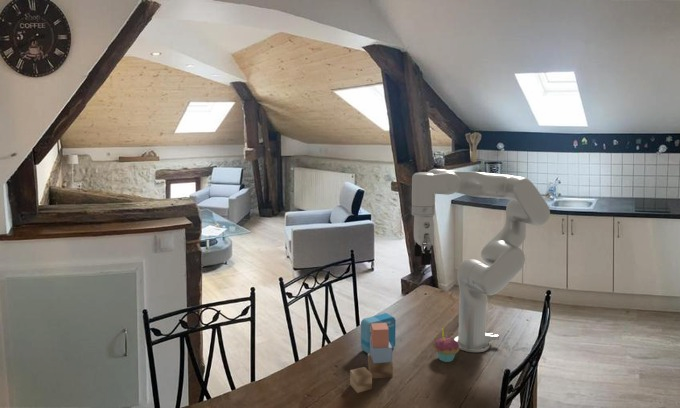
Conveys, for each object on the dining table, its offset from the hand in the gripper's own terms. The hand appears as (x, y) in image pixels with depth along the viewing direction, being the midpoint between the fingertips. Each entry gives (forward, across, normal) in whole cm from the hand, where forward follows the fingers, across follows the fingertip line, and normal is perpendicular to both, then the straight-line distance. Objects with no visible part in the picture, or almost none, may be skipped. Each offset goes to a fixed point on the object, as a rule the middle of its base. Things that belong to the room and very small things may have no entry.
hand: (422, 260), depth 166 cm
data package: (+34, +6, +14) cm, 38 cm away
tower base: (+34, -10, +16) cm, 39 cm away
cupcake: (+34, -3, -8) cm, 36 cm away
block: (+34, -18, +23) cm, 45 cm away
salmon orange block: (+24, -10, +16) cm, 31 cm away
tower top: (+29, -10, +16) cm, 35 cm away
